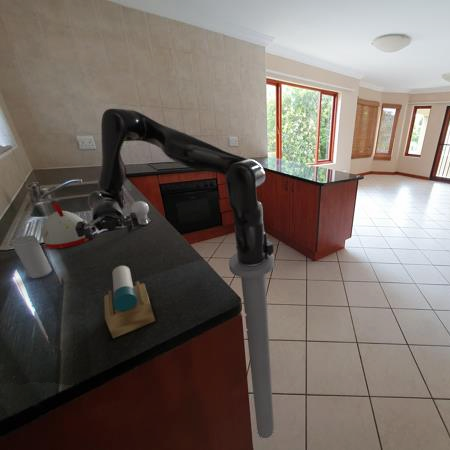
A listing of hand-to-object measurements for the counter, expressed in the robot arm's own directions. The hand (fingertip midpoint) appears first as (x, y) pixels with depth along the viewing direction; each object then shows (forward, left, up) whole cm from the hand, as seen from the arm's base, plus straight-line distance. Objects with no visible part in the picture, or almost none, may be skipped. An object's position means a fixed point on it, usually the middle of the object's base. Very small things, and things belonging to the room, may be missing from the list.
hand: (110, 232), depth 64 cm
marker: (0, +16, -8) cm, 18 cm away
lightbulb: (-10, -43, -15) cm, 47 cm away
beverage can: (+20, -18, -15) cm, 31 cm away
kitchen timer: (+15, -43, -15) cm, 48 cm away
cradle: (0, +19, -15) cm, 24 cm away
